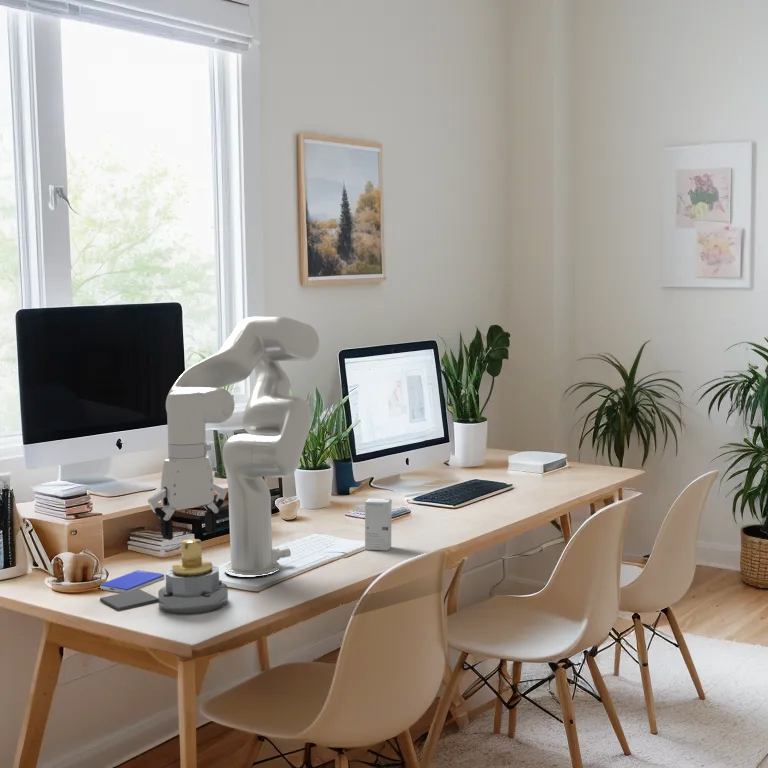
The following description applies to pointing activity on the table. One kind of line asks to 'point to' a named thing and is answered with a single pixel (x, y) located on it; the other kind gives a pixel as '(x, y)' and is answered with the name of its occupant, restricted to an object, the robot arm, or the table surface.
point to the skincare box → (378, 524)
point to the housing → (193, 593)
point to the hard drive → (132, 581)
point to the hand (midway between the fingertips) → (189, 535)
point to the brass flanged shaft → (191, 559)
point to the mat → (129, 599)
